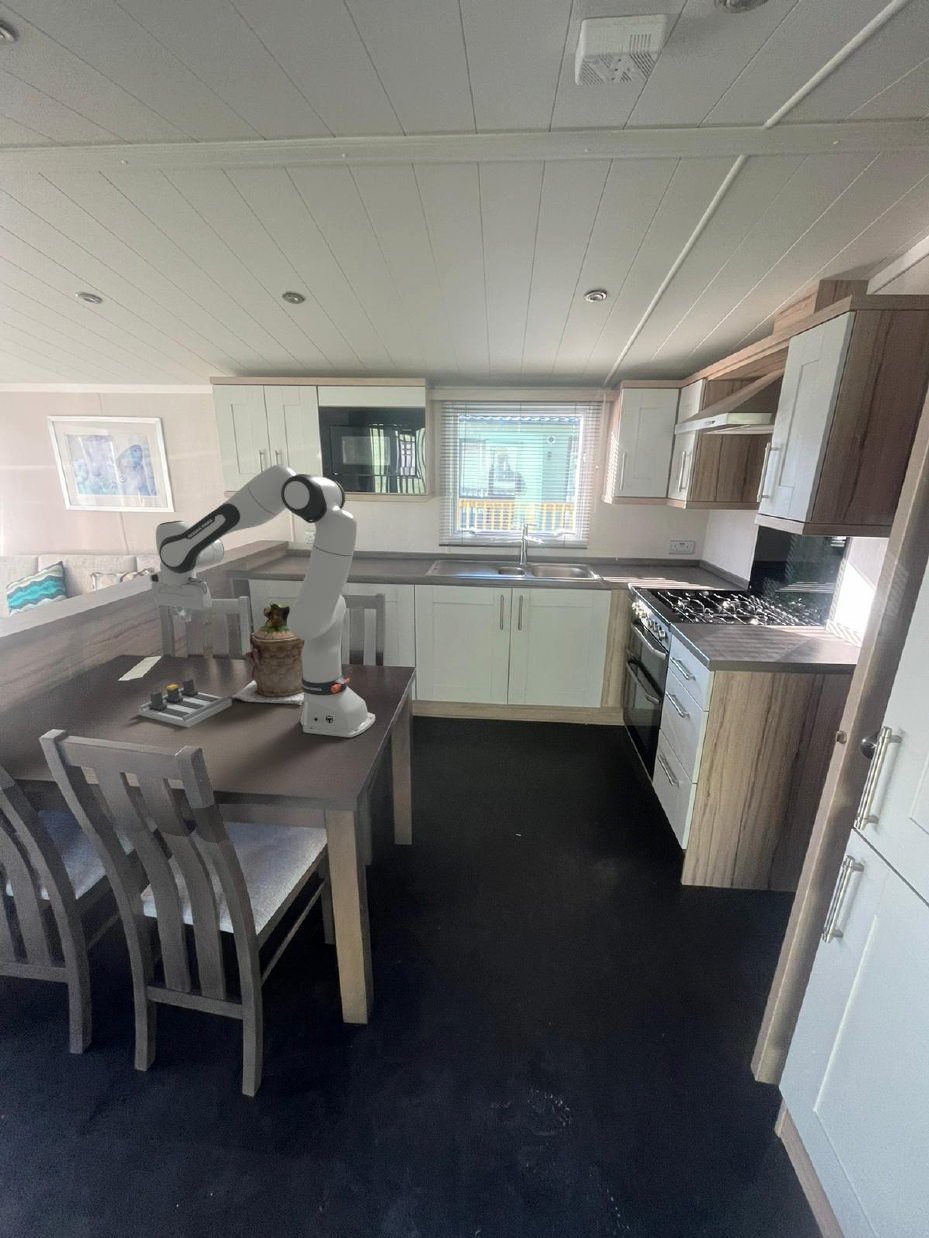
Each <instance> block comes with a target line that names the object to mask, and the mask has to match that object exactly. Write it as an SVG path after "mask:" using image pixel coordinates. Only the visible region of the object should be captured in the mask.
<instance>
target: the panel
mask: <svg viewBox="0 0 929 1238" xmlns="http://www.w3.org/2000/svg"><path fill="white" fill-rule="evenodd" d="M182 690H184V688H183V687H182V688H178V691H179V697H182V698H183V700H182V701H180V702H178V703H176V702H171V701H167V700H165V698H166V697H168V693H167V694H165V695H162V699H163V704H166V705H167V708H164V709H162V710H158V709H154V708H150V707H149V704H152V703H151V701H149V702H145V703H144V704H141V705H139V709H138V712H139V715H140V716H142V717H146V718H150V719H153V720H157V721H161V722H164V723H169V724H172V725H176V726H181V727H185V728H190V727H192V726H194V725H196V724H198V723H200V722H202V721H204V720H206V719H209V718H210V717H212V716H214V715H216V714H218V713H220V712H222V711H224V710H225V709H228V708H231V707H232V706H233V701H232V699H231V698H230V695H224V696H223V697H221V696H217V695H213V694H207V693H203V692H200V691H198V694H196V695H193V696H190V695H186V694H182V693H181V691H182Z"/></svg>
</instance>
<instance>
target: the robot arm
mask: <svg viewBox="0 0 929 1238" xmlns="http://www.w3.org/2000/svg"><path fill="white" fill-rule="evenodd" d="M345 504H346V492H345V490H344V488H343V487H342V485H341V484H340V483H339V482H338V481H337V480H335V479H332V478H331V477H326V476H321V475H319V474H312V473H310V474H307V473H306V474H305V473H299V474H297V473H296V472H295V470H293V469H292V468H291V467H289V466H287V465H284V464H274V465H272V466H270V467H268V468H266V469H264V470H263V471H261V472H259V473H258V474H257V475H256V476H254V477H253V478H252V479H250V480H249V481H248V482H247V483H246V484H244V485H243V486H242V487H241V488H240V489H239V490H237V491H236V492H235V493H234V494H233V495H232V496H230V498H228V499H227V500H225V501H224V502H223V503H222V504H221V505H219V506H218V507H217V508H216V509H214V510H213V511H211V512H209V513H208V514H207V515H205V516H203V518H201V519H200V520H199V521H197V522H196V523H195V524H193V525H192V526H190V525H189V524H188V523H187V522H186V521H184V520H174V521H166V522H165V521H164V522H162V523H159V524H158V525H157V526H156V528H155V543H156V550H157V555H158V556H159V559H160V563H159V569H160V571H158V572H155V573H152V574H150V575H149V581H150V582H151V593H152V597H153V598H152V599H153V601H154V602H155V604H156V605H158V606H159V605H160V606H165V607H166V606H167V607H174V611H175V612H176V614H177V615H178V618H179V621H180V622H185V623H189V622H192V615H193V612H194V610H197V611H205V610H209V609H211V608H212V607H213V601H212V596H211V592H210V589H209V588H210V587H208V584H207V582H206V581H204V580H203V578H200V577H199V578H197V573H196V570H197V569H202V568H205V567H210V566H214V565H216V564H218V563H220V562H221V561H222V560H223V557H224V555H225V547H224V544H223V542H222V540H221V538H223V537H224V536H226V535H229V534H231V533H233V532H237V531H241V530H245V529H250V528H251V529H252V528H255V527H259V526H263V525H264V524H266V523H268V522H269V521H272V520H273V519H274V518H276V517H277V516H279V514H280V513H282V512H283V511H284V510H286V509H287V510H288V511H290V512H291V513H293V514H294V515H296V516H298V517H299V518H301V519H303V521H305V522H306V523H308V524H312V523H313V524H314V527H315V534H314V539H313V542H312V545H311V546H312V547H311V552H310V556H309V560H308V564H307V569H306V573H305V575H304V578H303V580H302V583H301V585H300V588H299V590H298V592H297V596H296V598H295V600H294V603H293V606H292V607H291V608H290V613H289V614H288V617H287V626H288V629H289V631H290V632H291V633H292V634H293V635H294V636H295V637H297V638H299V639H302V640H305V641H304V646H303V648H302V653H301V656H302V670H303V676H302V690H303V691H304V701H303V702H302V713H301V716H300V720H299V721H300V724H301V726H302V732H303V733H306V734H316V735H323V736H324V735H325V736H332V737H333V736H334V737H341V738H353V737H356V736H358V735H361V734H362V733H364V732H365V731H366V730H368V729H369V728H370V727H372V725H374V723H375V721H376V714H373V713H371V712H368V707H367V704H366V701H365V700H364V699H363V698H362V697H361V696H359V695H358V694H357V693H356V692H354V691H353V690H352V689H351V688H350V687H349V686H348V683H350V679H351V678H350V677H348V678H346V679H345V676H344V673H343V672H342V659H341V658H342V654H341V650H342V649H341V647H342V638H343V632H344V629H343V628H344V621H345V620H344V617H345V613H346V610H347V603H346V600H345V598H344V596H343V595H342V592H343V589H344V587H345V584H347V581H348V578H349V573H350V570H351V569H350V568H351V565H352V562H353V561H352V560H353V557H354V553H355V549H356V541H357V535H358V532H357V530H358V528H357V527H358V522H357V520H356V518H355V516H354V515H353V514H352V513H350V512H349V511H347V510H345V509H343V508H344V506H345Z"/></svg>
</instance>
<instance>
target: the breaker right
mask: <svg viewBox="0 0 929 1238" xmlns="http://www.w3.org/2000/svg"><path fill="white" fill-rule="evenodd" d="M182 686H183V687H182V688H184V690H182V691H181V693H182V694H186V695H190V696H193V695H196V694H198V692H199V691H198V690H196V689H195V686H194V679H193V678H190V677H187V678H185V679H182Z"/></svg>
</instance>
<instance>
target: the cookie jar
mask: <svg viewBox="0 0 929 1238" xmlns="http://www.w3.org/2000/svg"><path fill="white" fill-rule="evenodd" d="M290 611H291V608H290V605H287V604H285V603H284V604H283V603H279V602H273V601H272V602H270V603H269V605H268V606H265V607H264V608H263V616H264V617H266V618H267V620H266V622H265V624H263V626H261V627H260V628H259V629H257V630H256V631H255V632H251V634H250V636H249V644H250V645H251V646H252V648H251V649H252V651H247V652H246V653H244V654H245V655H244V656H245V659H246V660H247V661H248V663H249V664H250V665H251V666H252V672H251V678H252V679H253V680H251V682H250V683H248V684H247V685H246V686H245V687H243V688H242V689H241V690H239V691H238V692H236V693H234V694H233V695H231V698H233V699H238V700H241V701H243V702H246V703H265V704H266V703H269V704H270V703H271V704H284V705H285V704H290V705H292V704H293V705H299V706H303V702H304V691H303V690H302V676H303V670H302V656H301V653H302V648H303V646H304V641H305V640H302V639H299V638H297V637H295V636H294V635H293V634H292V633H291V632H290V631H289V629H288V626H287V617H288V614H289V613H290Z"/></svg>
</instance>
